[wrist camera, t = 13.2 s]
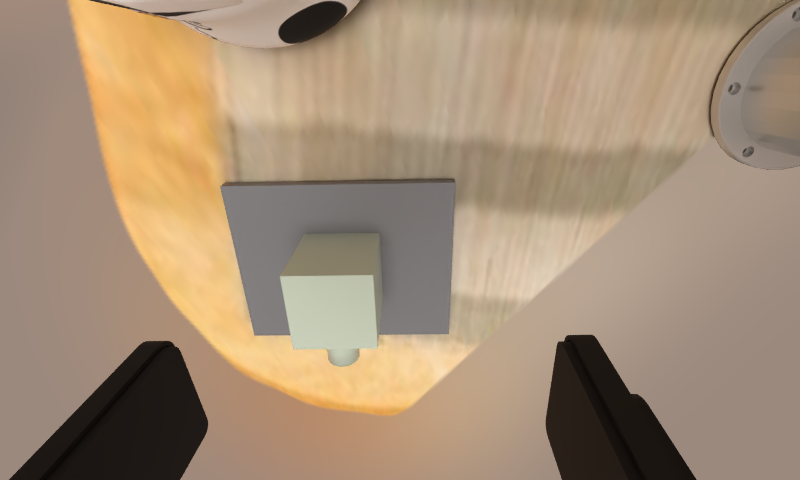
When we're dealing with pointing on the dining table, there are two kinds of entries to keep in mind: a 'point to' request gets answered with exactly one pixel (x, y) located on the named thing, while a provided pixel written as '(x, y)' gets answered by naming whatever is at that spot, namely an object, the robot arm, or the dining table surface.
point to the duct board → (348, 213)
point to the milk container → (248, 18)
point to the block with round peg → (334, 294)
